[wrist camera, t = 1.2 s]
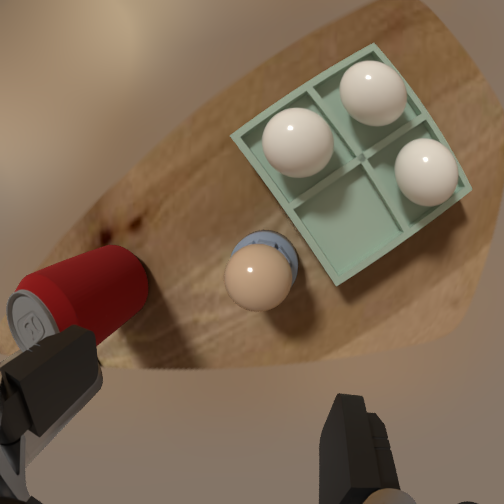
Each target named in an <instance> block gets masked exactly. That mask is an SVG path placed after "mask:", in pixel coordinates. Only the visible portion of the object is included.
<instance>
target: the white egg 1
mask: <svg viewBox="0 0 504 504" xmlns="http://www.w3.org/2000/svg"><path fill="white" fill-rule="evenodd" d="M262 148H263V152H264V155H265V157H266V159H267V161H268V162H269V164H270V165H271V166H272V167H273V168H274V169H275V170H276V171H278V172H279V173H281V174H283V175H285V176H288V177H292V178H305V177H309V176H312V175H315V174H317V173H318V172H320V171H321V170H322V169H323V168H324V167H325V166H326V165H327V164H328V162H329V161H330V159H331V157H332V154H333V150H334V137H333V133H332V131H331V128H330V126H329V125H328V123H327V122H326V121H325V120H324V119H323V118H322V117H321V116H320V115H319V114H317V113H315V112H313V111H311V110H309V109H305V108H289V109H286V110H283V111H281V112H279V113H277V114H276V115H275V116H273V117H272V118H271V119H270V121H269V122H268V123H267V125H266V127H265V129H264V132H263V136H262Z"/></svg>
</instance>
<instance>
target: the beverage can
mask: <svg viewBox="0 0 504 504" xmlns="http://www.w3.org/2000/svg"><path fill="white" fill-rule="evenodd" d="M147 296H148V280H147V276H146V273H145V270H144V268H143V266H142V264H141V263H140V261H139V260H138V259H137V257H136V256H135V255H134V254H133V253H131V252H130V251H129V250H127V249H125V248H123V247H121V246H117V245H107V246H104V247H101V248H98V249H95V250H92V251H89V252H86V253H83V254H80V255H78V256H75V257H72V258H69V259H67V260H64V261H61V262H59V263H56V264H53V265H51V266H48V267H46V268H44V269H41V270H39V271H36V272H34V273H31V274H29V275H27V276H26V277H24V278H23V279H22V281H21V282H20V283H19V285H18V287H17V289H16V290H15V292H14V293H13V294H11V296H10V297H9V299H8V302H7V308H6V312H7V320H8V324H9V328H10V331H11V333H12V336H13V338H14V340H15V342H16V343H17V345H18V347H19V348H20V350H21V351H22V352H24V351H26V350H29V348H30V347H32V346H33V345H36V344H37V343H38V342H39V341H41V340H42V339H44V338H45V337H47V336H51V335H54V334H57V333H60V332H62V331H63V330H65V329H66V328H68V327H70V326H71V325H78V326H80V327H83V328H85V329H88V330H91V331H93V332H94V334H95V338H96V346H97V345H99V344H100V343H101V342H102V341H103V340H105V339H106V338H107V337H108V336H110V335H111V334H112V333H113V332H114V331H116V330H117V329H118V328H119V327H121V326H122V325H123V324H124V323H125V322H127V321H128V320H129V319H130V318H131V317H132V316H134V315H135V314H136V313H137V312H138V311H140V310H141V309H142V307H143V306H144V304H145V302H146V300H147Z"/></svg>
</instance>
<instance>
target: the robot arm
mask: <svg viewBox="0 0 504 504" xmlns="http://www.w3.org/2000/svg"><path fill="white" fill-rule="evenodd" d="M102 381H103V377H102V371H101V368H100V365H99V363H98V358H97V348H96V338H95V334H94V332H93V331H91V330H88V329H85V328H83V327H80V326H78V325H71V326H70V327H68V328H66V329H65V330H63V331H62V332H60V333H57V334H54V335H51V336H47V337H45V338H44V339H42V340H41V341H39V342H38V343H37V344H36V345H33V346H32V347H30V348H29V350H26V351H24V352H22V351H21V350H18V351H17V352H15V353H14V354H12V355H11V356H9V357H8V358H6V359H5V360H3V361H2V362H0V504H42V503H41V502H40V501H38V500H37V499H35V498H34V497H32V496H31V497H30V495H29V493H28V490H27V487H26V480H25V468H26V467H27V466H28V465H29V464H30V463H31V462H32V461H33V460H34V458H35V457H36V456H37V455H38V454H39V453H40V452H41V451H42V450H43V449H44V448H45V447H46V446H47V445H48V444H49V443H50V441H51V440H52V439H53V438H54V437H55V436H56V435H57V434H58V433H59V432H60V431H61V430H62V429H63V428H64V427H65V425H66V424H68V422H69V421H70V420H71V419H72V418H73V417H74V416H75V415H76V414H77V413H78V412H79V411H80V410H81V409H82V408H83V407H84V406H85V405H86V404H87V403H88V402H89V401H90V400H91V398H92V397H93V396H94V395H95V394H96V393H97V392H98V391H99V390H100V389H101V386H102V383H103V382H102ZM387 438H388V436H387V432H386V428H385V425H384V423H383V422H382V421H381V420H380V418H379V417H378V416H377V415H376V413H367V412H366V407H365V403H364V399H363V397H362V396H358V395H349V394H340V393H339V394H337V396H336V398H335V400H334V403H333V405H332V408H331V410H330V413H329V415H328V418H327V420H326V422H325V425H324V427H323V430H322V433H321V437H320V446H319V447H320V448H319V456H320V459H319V462H320V463H319V465H320V466H319V470H320V471H319V477H320V478H319V504H416V502H415V500H414V499H413V498H412V497H411V496H410V495H409V494H407V493H405V492H403V491H401V490H400V486H399V482H398V477H397V473H396V468H395V464H394V460H393V456H392V452H391V450H390V444H389V440H387ZM459 504H477V503H474V502H461V503H459Z"/></svg>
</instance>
